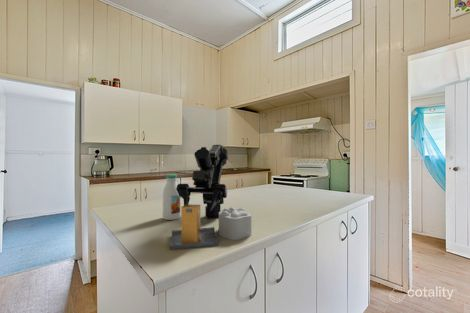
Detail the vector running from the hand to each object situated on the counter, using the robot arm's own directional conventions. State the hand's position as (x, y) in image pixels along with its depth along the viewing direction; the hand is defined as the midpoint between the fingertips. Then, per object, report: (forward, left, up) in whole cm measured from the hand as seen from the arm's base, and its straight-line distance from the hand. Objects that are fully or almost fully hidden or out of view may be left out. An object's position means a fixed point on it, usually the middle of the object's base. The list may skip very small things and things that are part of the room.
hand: (197, 210), depth 79 cm
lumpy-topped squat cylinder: (-13, 0, -9) cm, 16 cm away
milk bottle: (+10, -26, -9) cm, 29 cm away
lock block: (+2, +7, -8) cm, 11 cm away
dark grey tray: (+1, +4, -9) cm, 10 cm away
